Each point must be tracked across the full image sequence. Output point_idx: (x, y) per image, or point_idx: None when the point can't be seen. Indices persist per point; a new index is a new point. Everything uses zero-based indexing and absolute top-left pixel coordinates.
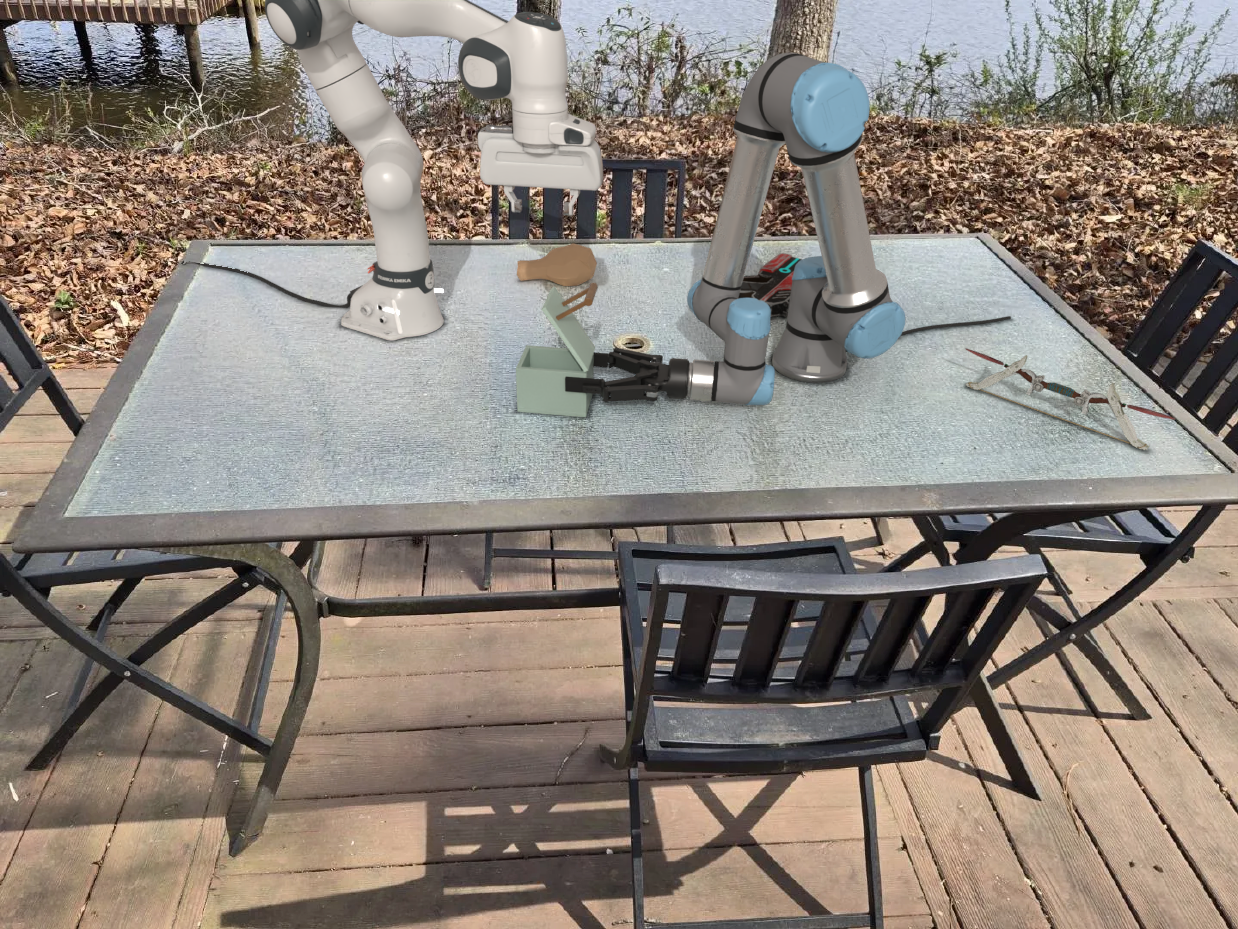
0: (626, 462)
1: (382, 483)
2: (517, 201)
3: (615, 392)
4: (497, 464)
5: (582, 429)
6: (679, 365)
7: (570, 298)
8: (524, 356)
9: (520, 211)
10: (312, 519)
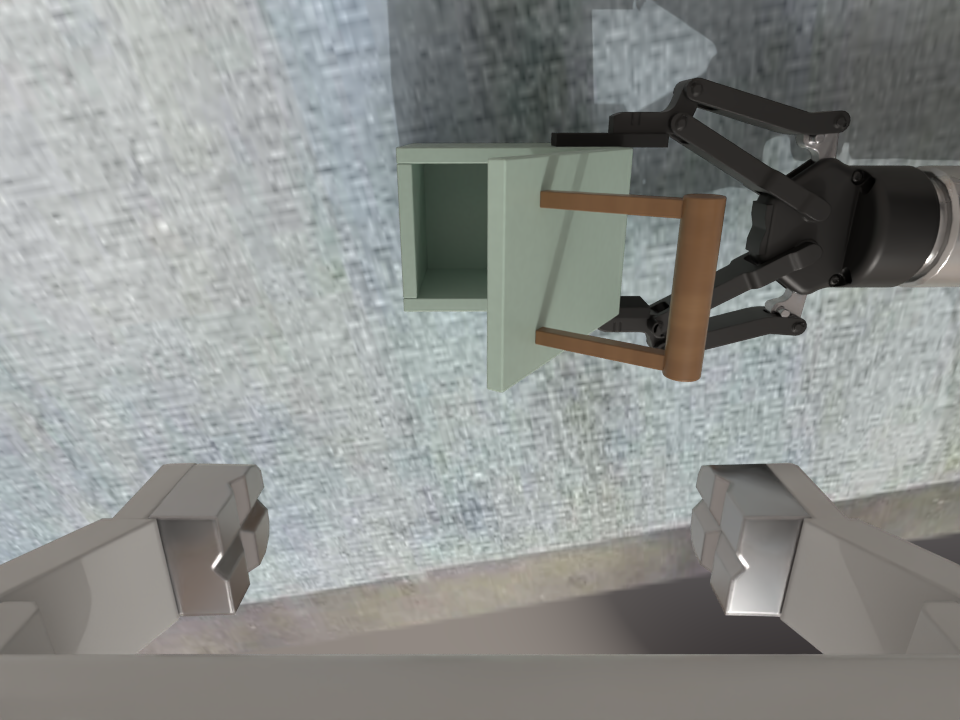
0: (681, 435)
1: None
2: (196, 588)
3: None
4: (428, 475)
5: None
6: (901, 260)
7: (581, 209)
8: (410, 232)
9: (267, 529)
10: (186, 641)
